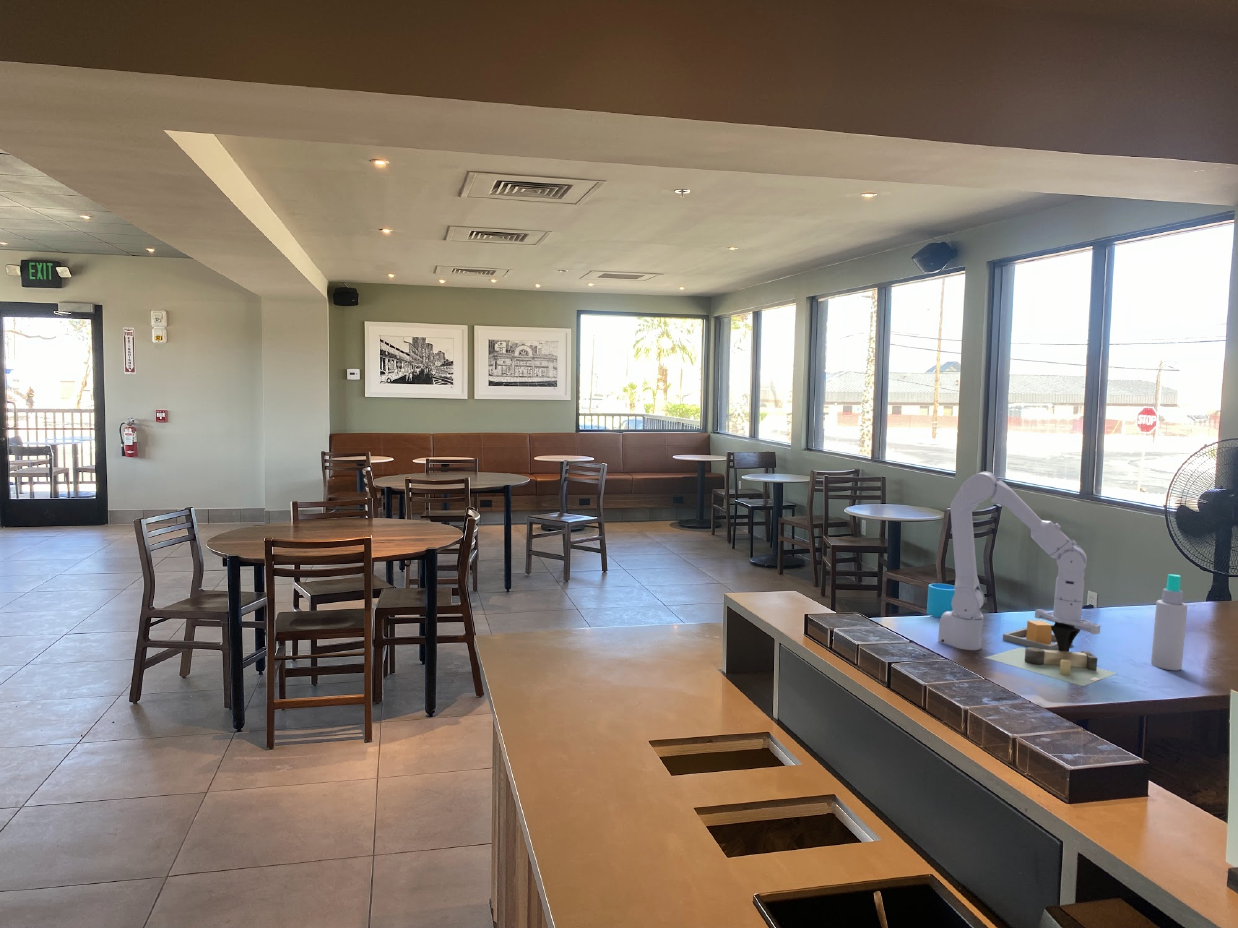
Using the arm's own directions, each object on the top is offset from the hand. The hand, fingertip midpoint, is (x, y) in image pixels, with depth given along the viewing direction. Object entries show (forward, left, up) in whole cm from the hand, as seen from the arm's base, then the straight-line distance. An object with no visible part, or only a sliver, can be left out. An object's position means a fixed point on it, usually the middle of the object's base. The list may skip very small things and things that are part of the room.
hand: (1063, 656), depth 190 cm
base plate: (0, -5, -3) cm, 6 cm away
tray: (-11, +11, -3) cm, 16 cm away
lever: (0, -3, -1) cm, 3 cm away
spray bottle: (+13, +24, -3) cm, 27 cm away
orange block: (-11, +11, -2) cm, 15 cm away
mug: (-41, +20, -3) cm, 46 cm away
